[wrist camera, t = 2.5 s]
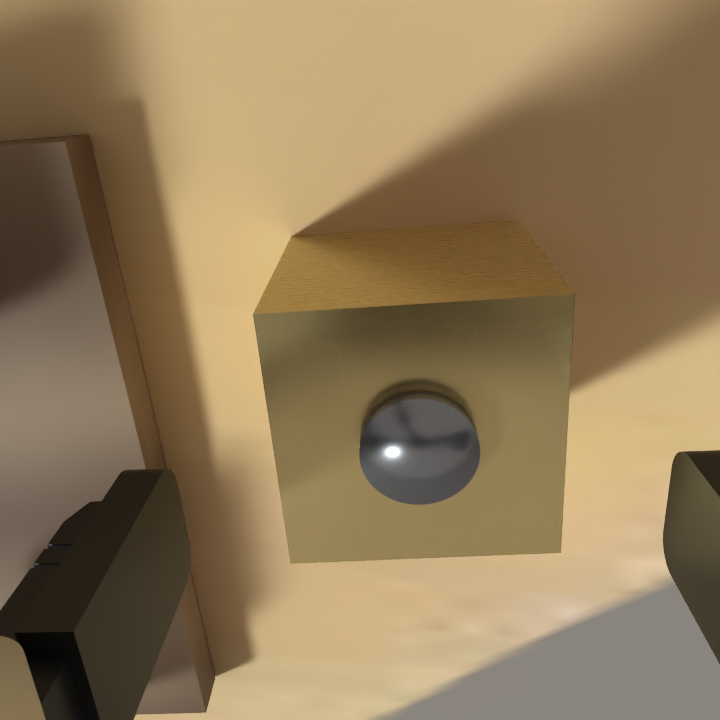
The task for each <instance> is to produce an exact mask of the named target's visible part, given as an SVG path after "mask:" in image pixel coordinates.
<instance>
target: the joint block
mask: <svg viewBox="0 0 720 720" xmlns="http://www.w3.org/2000/svg"><path fill="white" fill-rule="evenodd" d="M574 299H575V294H574V293H573V291H572V290H571V289H570V287H569V286H568V285H567V284H566V282H565V281H564V280H563V278H562V277H561V276H560V275H559V273H558V272H557V271H556V269H555V268H554V267H553V266H552V264H551V263H550V262H549V260H548V259H547V258H546V256H545V255H544V254H543V253H542V251H541V250H540V249H539V247H538V246H537V245H536V244H535V242H534V241H533V240H532V238H531V237H530V236H529V235H528V233H527V232H526V231H525V229H524V228H523V227H522V226H521V224H520V223H519V222H518V221H507V222H493V223H478V224H464V225H449V226H435V227H421V228H406V229H392V230H377V231H363V232H348V233H334V234H320V235H305V236H291V238H290V240H289V242H288V244H287V246H286V248H285V250H284V252H283V254H282V256H281V259H280V261H279V263H278V265H277V267H276V269H275V271H274V273H273V275H272V277H271V279H270V281H269V283H268V285H267V287H266V289H265V291H264V293H263V295H262V297H261V299H260V301H259V303H258V305H257V307H256V309H255V311H254V313H253V317H254V324H255V330H256V337H257V343H258V350H259V357H260V363H261V370H262V377H263V383H264V390H265V396H266V403H267V410H268V416H269V423H270V429H271V436H272V443H273V449H274V456H275V463H276V469H277V476H278V482H279V489H280V496H281V502H282V509H283V516H284V522H285V529H286V535H287V542H288V549H289V555H290V562H291V563H315V562H340V561H365V560H390V559H415V558H441V557H466V556H491V555H516V554H541V553H561V540H562V521H563V503H564V484H565V466H566V447H567V429H568V410H569V391H570V373H571V354H572V336H573V317H574Z"/></svg>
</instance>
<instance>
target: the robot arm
mask: <svg viewBox="0 0 720 720" xmlns="http://www.w3.org/2000/svg"><path fill="white" fill-rule="evenodd" d="M47 545H48V548H47V549H44V550H43V551H42V553H41V554H40V556H39V557H38V558H37V560H36V561H35V563H34V568H30V570H29V571H28V572H27V574H26V575H25V577H24V578H23V579H22V581H21V582H20V584H19V585H18V586H17V588H16V589H15V591H14V592H13V593H12V595H11V596H10V598H9V599H8V600H7V602H6V603H5V604H4V606H3V607H2V609H1V610H0V720H134V717H135V715H136V712H137V709H138V707H139V704H140V702H141V699H142V697H143V694H144V692H145V689H146V687H147V684H148V681H149V679H150V676H151V674H152V671H153V669H154V666H155V664H156V661H157V659H158V656H159V653H160V651H161V648H162V646H163V643H164V641H165V638H166V636H167V633H168V630H169V628H170V625H171V623H172V620H173V618H174V615H175V613H176V610H177V608H178V605H179V602H180V600H181V597H182V595H183V592H184V590H185V587H186V584H187V581H188V577H189V570H190V546H189V540H188V535H187V530H186V525H185V520H184V516H183V511H182V506H181V501H180V496H179V491H178V486H177V481H176V477H175V475H174V473H173V471H172V470H171V469H168V468H165V469H136V470H124V471H122V472H121V473H120V474H119V476H118V477H117V479H116V480H115V482H114V483H113V485H112V486H111V488H110V489H109V491H108V492H107V494H106V495H105V497H104V498H103V500H102V501H90V502H89V503H88V504H86V505H85V506H84V507H82V508H81V509H80V510H78V511H77V512H76V513H74V514H73V515H72V516H71V517H69V518H68V519H67V520H65V521H64V522H63V523H62V525H61V526H60V528H59V529H58V530H57V532H56V533H55V535H54V536H53V537H52V539H51V540H50V542H49V543H48V544H47ZM663 547H664V554H665V559H666V563H667V567H668V569H669V572H670V574H671V576H672V578H673V580H674V582H675V583H676V585H677V587H678V589H679V591H680V593H681V594H682V596H683V598H684V600H685V602H686V604H687V605H688V607H689V609H690V611H691V612H692V614H693V616H694V618H695V620H696V622H697V624H698V625H699V627H700V629H701V631H702V633H703V634H704V636H705V638H706V640H707V641H708V644H709V645H710V647H711V649H712V651H713V653H714V654H715V656H716V658H717V660H718V662H719V664H720V450H716V451H687V452H679V453H677V454H676V456H675V458H674V460H673V464H672V470H671V478H670V485H669V493H668V501H667V508H666V516H665V523H664V531H663Z"/></svg>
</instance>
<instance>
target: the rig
mask: <svg viewBox="0 0 720 720" xmlns="http://www.w3.org/2000/svg"><path fill="white" fill-rule="evenodd" d="M165 468H166V464H165V460H164V456H163V451H162V447H161V443H160V439H159V434H158V430H157V426H156V421H155V417H154V413H153V408H152V404H151V400H150V395H149V391H148V387H147V383H146V378H145V374H144V370H143V365H142V361H141V357H140V352H139V348H138V344H137V340H136V335H135V331H134V327H133V322H132V318H131V314H130V309H129V305H128V301H127V297H126V292H125V288H124V284H123V279H122V275H121V271H120V266H119V262H118V258H117V253H116V249H115V245H114V241H113V236H112V232H111V228H110V223H109V219H108V215H107V210H106V206H105V202H104V198H103V193H102V189H101V185H100V180H99V176H98V172H97V167H96V163H95V159H94V155H93V150H92V146H91V142H90V137H89V134H87V135H75V136H63V137H51V138H39V139H27V140H14V141H2V142H0V610H1V609H2V607H3V606H4V604H5V603H6V602H7V600H8V599H9V598H10V596H11V595H12V593H13V592H14V591H15V589H16V588H17V586H18V585H19V584H20V582H21V581H22V579H23V578H24V577H25V575H26V574H27V572H28V571H29V570H30V568H34V563H35V561H36V560H37V558H38V557H39V556H40V554H41V553H42V551H43V550H44V549H47V548H48V545H47V544H48V543H49V542H50V540H51V539H52V537H53V536H54V535H55V533H56V532H57V530H58V529H59V528H60V526H61V525H62V523H63V522H64V521H65V520H67V519H68V518H69V517H71V516H72V515H73V514H74V513H76V512H77V511H78V510H80V509H81V508H82V507H84V506H85V505H86V504H88V503H89V502H90V501H102V500H103V498H104V497H105V495H106V494H107V492H108V491H109V489H110V488H111V486H112V485H113V483H114V482H115V480H116V479H117V477H118V476H119V474H120V473H121V472H122V471H124V470H136V469H165ZM214 680H215V675H214V671H213V667H212V662H211V658H210V654H209V649H208V645H207V641H206V636H205V632H204V628H203V624H202V619H201V615H200V611H199V606H198V602H197V598H196V593H195V589H194V585H193V580H192V576H191V572H190V570H189V577H188V581H187V584H186V587H185V590H184V592H183V595H182V597H181V600H180V602H179V605H178V608H177V610H176V613H175V615H174V618H173V620H172V623H171V625H170V628H169V630H168V633H167V636H166V638H165V641H164V643H163V646H162V648H161V651H160V653H159V656H158V659H157V661H156V664H155V666H154V669H153V671H152V674H151V676H150V679H149V681H148V684H147V687H146V689H145V692H144V694H143V697H142V699H141V702H140V704H139V707H138V709H137V712H136V714H168V713H203V712H206V710H207V707H208V703H209V699H210V695H211V692H212V688H213V684H214Z"/></svg>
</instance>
